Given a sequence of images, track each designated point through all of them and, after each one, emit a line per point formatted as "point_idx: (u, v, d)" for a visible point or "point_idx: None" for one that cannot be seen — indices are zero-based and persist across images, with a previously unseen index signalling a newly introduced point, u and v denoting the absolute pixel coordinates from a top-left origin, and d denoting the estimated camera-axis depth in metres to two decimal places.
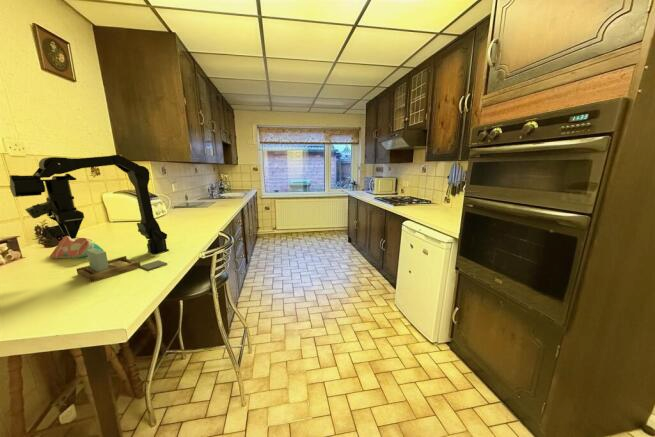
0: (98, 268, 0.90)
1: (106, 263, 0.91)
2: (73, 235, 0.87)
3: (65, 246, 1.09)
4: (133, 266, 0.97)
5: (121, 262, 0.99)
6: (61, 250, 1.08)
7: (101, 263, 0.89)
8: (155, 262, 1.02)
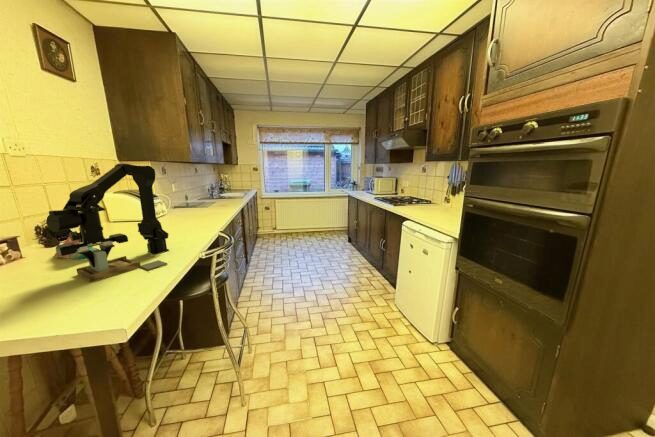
0: (98, 268, 0.90)
1: (106, 263, 0.91)
2: (91, 263, 0.91)
3: None
4: (133, 266, 0.97)
5: (121, 262, 0.99)
6: None
7: (101, 263, 0.89)
8: (155, 262, 1.02)
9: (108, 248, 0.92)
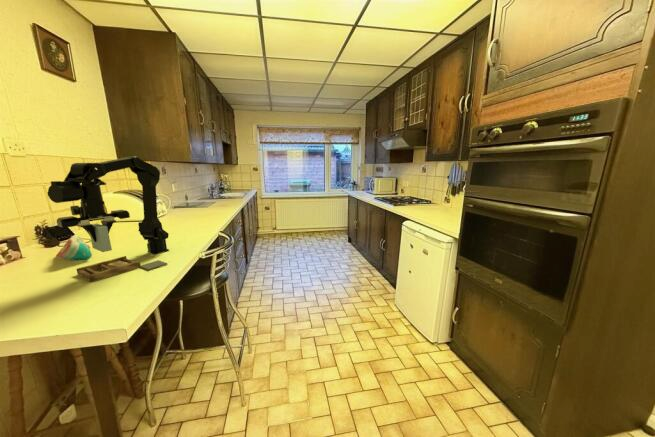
0: (99, 242, 0.89)
1: (107, 238, 0.90)
2: (93, 238, 0.90)
3: (65, 246, 1.09)
4: (133, 266, 0.97)
5: (121, 262, 0.99)
6: None
7: (102, 237, 0.88)
8: (155, 262, 1.02)
9: (109, 223, 0.91)
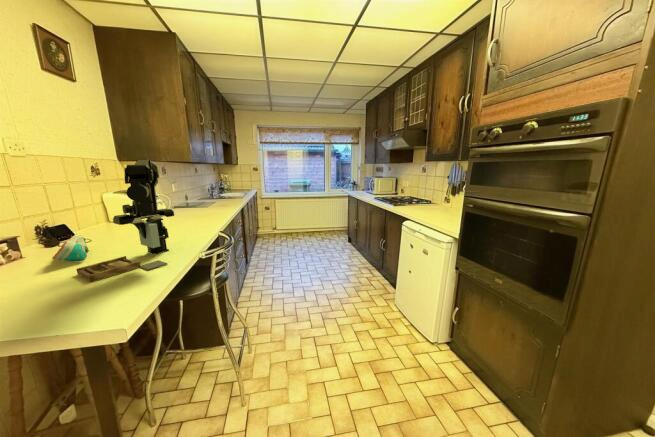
0: (150, 239, 0.95)
1: (157, 234, 0.96)
2: (143, 235, 0.96)
3: None
4: (133, 266, 0.97)
5: (121, 262, 0.99)
6: None
7: (153, 234, 0.94)
8: (155, 262, 1.02)
9: (158, 221, 0.97)
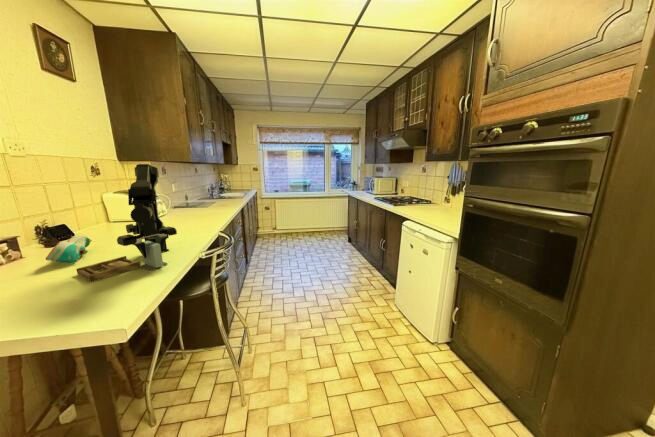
0: (153, 259, 0.96)
1: (160, 254, 0.97)
2: (143, 255, 0.97)
3: None
4: (133, 266, 0.97)
5: (121, 262, 0.99)
6: None
7: (156, 254, 0.96)
8: None
9: (163, 239, 1.00)
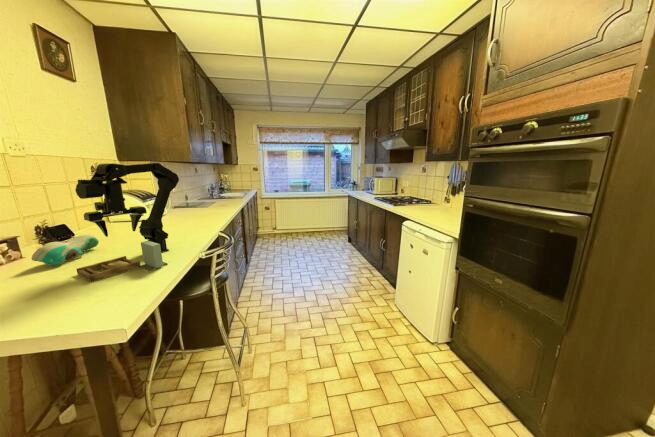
0: (153, 259, 0.96)
1: (160, 254, 0.97)
2: (104, 233, 0.97)
3: None
4: (133, 266, 0.97)
5: (121, 262, 0.99)
6: None
7: (156, 254, 0.96)
8: None
9: (138, 216, 1.04)
